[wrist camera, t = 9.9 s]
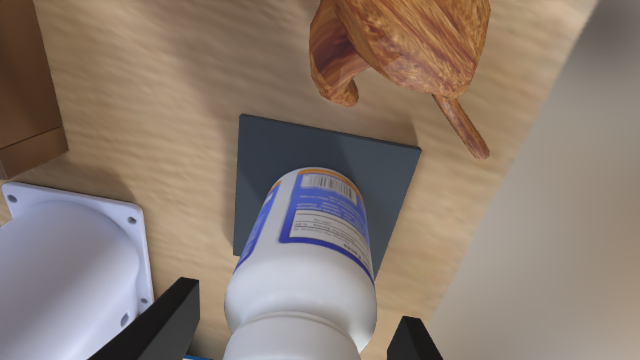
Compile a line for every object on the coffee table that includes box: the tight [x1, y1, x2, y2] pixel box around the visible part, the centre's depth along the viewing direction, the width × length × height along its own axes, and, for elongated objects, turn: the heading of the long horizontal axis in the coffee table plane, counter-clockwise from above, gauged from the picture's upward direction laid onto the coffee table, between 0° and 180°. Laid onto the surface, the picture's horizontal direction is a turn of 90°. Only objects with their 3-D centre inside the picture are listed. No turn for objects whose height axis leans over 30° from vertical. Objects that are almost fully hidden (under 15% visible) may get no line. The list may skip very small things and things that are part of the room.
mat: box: [233, 114, 422, 281], centre depth 17 cm, size 9×9×1 cm
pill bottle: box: [223, 167, 377, 360], centre depth 12 cm, size 5×5×10 cm
